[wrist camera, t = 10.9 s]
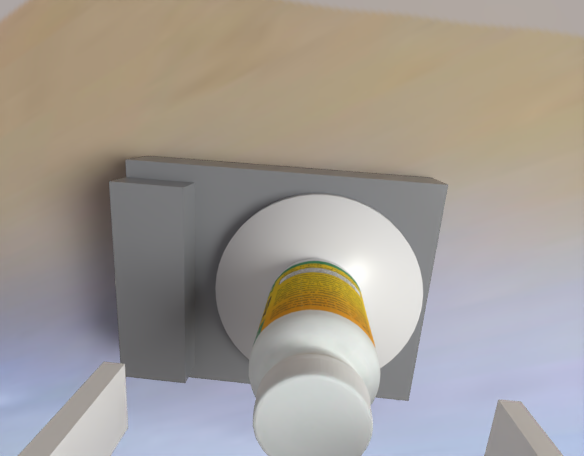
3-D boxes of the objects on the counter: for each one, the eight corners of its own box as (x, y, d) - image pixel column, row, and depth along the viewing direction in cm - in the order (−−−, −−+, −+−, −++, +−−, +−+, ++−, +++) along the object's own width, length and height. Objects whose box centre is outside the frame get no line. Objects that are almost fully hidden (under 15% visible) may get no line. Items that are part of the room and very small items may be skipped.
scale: (149, 345, 27) (115, 389, 23) (142, 155, 24) (99, 161, 19) (398, 371, 26) (415, 422, 22) (431, 177, 23) (460, 190, 18)
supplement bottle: (367, 333, 22) (404, 486, 12) (279, 345, 22) (251, 499, 13) (354, 248, 20) (383, 347, 11) (260, 263, 21) (214, 369, 12)
